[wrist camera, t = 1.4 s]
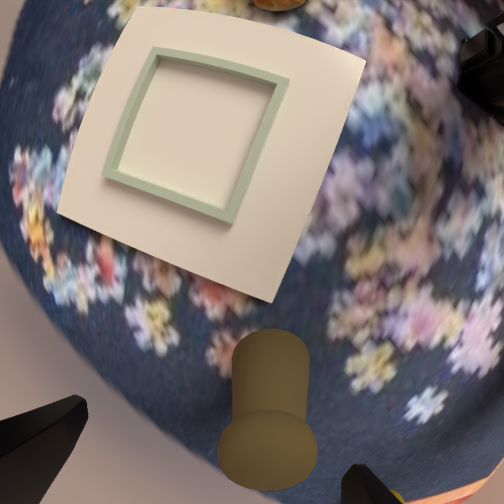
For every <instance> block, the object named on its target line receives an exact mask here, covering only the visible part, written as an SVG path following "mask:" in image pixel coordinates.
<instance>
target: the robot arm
mask: <svg viewBox="0 0 504 504" xmlns="http://www.w3.org/2000/svg"><path fill="white" fill-rule="evenodd" d="M486 25H487V26H488V27H489V28H490V29H491V30H492V31H489V30H488V29H484V30H482V31H481V32H479V33H478V34H476V35H475V36H474V37H472V38H470V37H469V36H466V37H465V38H464V39H463V44H462V45H461V51H460V59H459V67H460V70H459V77H458V83H457V86H458V88H459V90H460V91H461V92H462V93H464V94H465V95H466V96H468V97H469V98H470V99H472V100H473V101H474V102H476V103H477V104H478V105H479V106H481V107H482V108H483V109H484V110H485V111H487V112H488V113H489V114H490V115H491V116H493V117H494V118H495V119H496V120H497V121H498V122H499V123H501V124H502V125H503V126H504V11H502V12H501V13H500V14H498V15H497V16H496V17H494V18H493V19H492V20H491V21H489V22H488V23H487V24H486ZM462 85H463V86H464V88H463V86H462ZM87 420H88V409H87V402H86V400H85V399H84V398H82V397H80V396H78V395H72V396H69V397H67V398H64V399H61V400H59V401H56V402H53V403H50V404H48V405H45V406H42V407H39V408H36V409H34V410H31V411H28V412H25V413H22V414H19V415H16V416H13V417H10V418H7V419H4V420H1V421H0V504H39V503H40V502H41V500H42V498H43V497H44V495H45V494H46V492H47V490H48V489H49V487H50V485H51V484H52V482H53V481H54V479H55V478H56V476H57V475H58V473H59V471H60V470H61V468H62V467H63V465H64V463H65V462H66V461H67V459H68V458H69V456H70V454H71V453H72V451H73V449H74V447H75V445H76V443H77V441H78V439H79V436H80V434H81V432H82V430H83V428H84V426H85V424H86V422H87ZM341 504H403V503H402V502H401V501H400V500H399V499H398V498H397V497H396V496H395V495H394V494H393V493H392V492H391V491H390V490H389V489H388V488H387V487H386V486H385V485H384V484H383V483H382V482H381V481H380V479H379V478H378V477H377V476H376V475H375V474H374V473H373V472H372V471H371V470H370V469H369V468H368V467H367V466H366V465H365V464H354V465H352V466H351V467H350V469H349V470H348V471H347V472H346V474H345V475H344V476H343V478H342V483H341Z"/></svg>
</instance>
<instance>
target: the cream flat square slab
mask: <svg viewBox="0 0 504 504" xmlns="http://www.w3.org/2000/svg"><path fill="white" fill-rule="evenodd" d="M365 63H366V60H363V59H361V58H359V57H357V56H355V55H352V54H350V53H348V52H345V51H343V50H340V49H338V48H336V47H333V46H330V45H328V44H325V43H323V42H320V41H317V40H314V39H312V38H309V37H306V36H303V35H300V34H297V33H294V32H290V31H287V30H284V29H280V28H277V27H273V26H270V25H266V24H262V23H258V22H254V21H250V20H245V19H241V18H236V17H231V16H226V15H220V14H214V13H208V12H201V11H194V10H186V9H176V8H164V7H146V6H138V7H137V8H136V10H135V12H134V13H133V15H132V17H131V18H130V20H129V22H128V23H127V25H126V27H125V29H124V30H123V32H122V34H121V36H120V38H119V39H118V41H117V43H116V45H115V47H114V49H113V51H112V53H111V55H110V57H109V59H108V61H107V63H106V65H105V67H104V69H103V71H102V74H101V76H100V78H99V80H98V82H97V85H96V87H95V89H94V92H93V94H92V97H91V99H90V102H89V104H88V107H87V109H86V112H85V115H84V117H83V120H82V123H81V126H80V129H79V131H78V134H77V137H76V141H75V144H74V147H73V150H72V153H71V157H70V160H69V164H68V167H67V171H66V175H65V179H64V183H63V187H62V191H61V195H60V200H59V205H58V209H57V213H59V214H61V215H63V216H65V217H67V218H69V219H71V220H74V221H76V222H78V223H80V224H82V225H84V226H86V227H89V228H91V229H93V230H95V231H97V232H100V233H102V234H104V235H106V236H108V237H111V238H113V239H115V240H117V241H120V242H122V243H124V244H126V245H129V246H131V247H133V248H136V249H138V250H140V251H143V252H145V253H147V254H150V255H152V256H154V257H157V258H159V259H161V260H164V261H166V262H168V263H171V264H173V265H176V266H178V267H180V268H183V269H185V270H188V271H190V272H193V273H195V274H198V275H200V276H202V277H205V278H207V279H210V280H212V281H215V282H217V283H220V284H222V285H225V286H228V287H230V288H233V289H235V290H238V291H240V292H243V293H246V294H248V295H251V296H253V297H256V298H259V299H261V300H264V301H266V302H269V303H272V302H273V300H274V297H275V295H276V293H277V290H278V288H279V286H280V283H281V281H282V279H283V276H284V274H285V272H286V269H287V267H288V265H289V262H290V260H291V258H292V255H293V253H294V250H295V248H296V246H297V243H298V241H299V238H300V236H301V234H302V231H303V229H304V226H305V224H306V221H307V219H308V216H309V214H310V211H311V209H312V206H313V204H314V201H315V199H316V196H317V194H318V191H319V189H320V186H321V184H322V181H323V179H324V176H325V173H326V171H327V168H328V166H329V163H330V160H331V158H332V155H333V152H334V150H335V147H336V144H337V142H338V139H339V136H340V134H341V131H342V128H343V125H344V123H345V120H346V117H347V114H348V112H349V109H350V106H351V103H352V100H353V98H354V95H355V92H356V89H357V86H358V83H359V80H360V77H361V74H362V71H363V68H364V66H365Z"/></svg>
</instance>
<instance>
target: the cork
mask: <svg viewBox="0 0 504 504" xmlns="http://www.w3.org/2000/svg"><path fill="white" fill-rule="evenodd" d="M309 368H310V354H309V352H308V349H307V346H306V345H305V344H304V343H303V341H302V340H301V339H300V338H299V337H297V336H295V335H294V334H292V333H290V332H288V331H284V330H280V329H262V330H258V331H255V332H252V333H250V334H249V335H247V336H246V337H244V338H243V339H241V341H240V342H239V343H238V345H237V346H236V347H235V350H234V353H233V357H232V421H231V423H230V424H229V425H228V426H227V427H226V428H225V429H224V431H223V432H222V434H221V437H220V440H219V443H218V447H217V457H218V462H219V466H220V468H221V469H222V471H223V473H224V474H225V475H226V476H227V477H228V479H230V480H231V481H233V482H234V483H236V484H238V485H240V486H243V487H246V488H249V489H254V490H260V491H274V490H280V489H286V488H289V487H291V486H294V485H297V484H298V483H300V482H301V481H303V480H305V479H306V477H307V476H308V475H309V473H310V472H311V471H312V469H313V468H314V467H315V464H316V459H317V453H318V446H317V441H316V439H315V436H314V434H313V432H312V430H311V428H310V426H309V425H307V424H306V423H305V421H306V410H307V397H308V384H309Z"/></svg>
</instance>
